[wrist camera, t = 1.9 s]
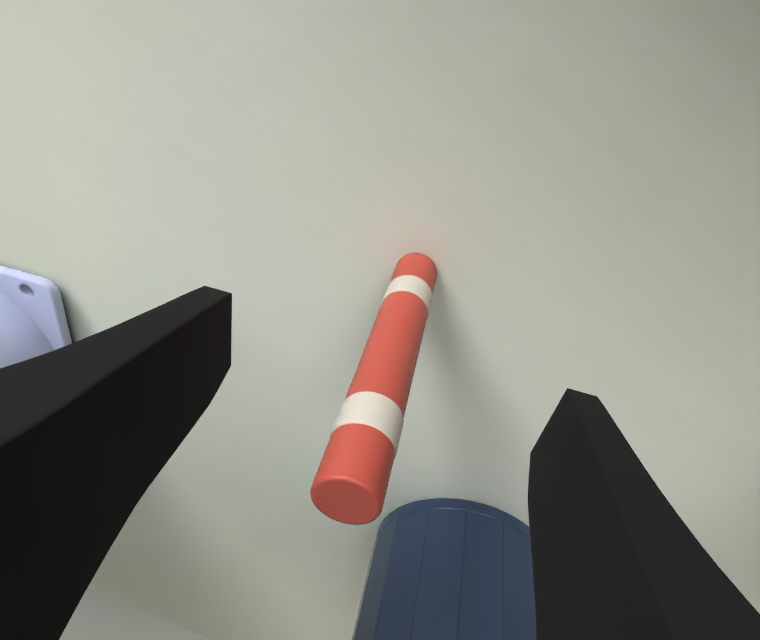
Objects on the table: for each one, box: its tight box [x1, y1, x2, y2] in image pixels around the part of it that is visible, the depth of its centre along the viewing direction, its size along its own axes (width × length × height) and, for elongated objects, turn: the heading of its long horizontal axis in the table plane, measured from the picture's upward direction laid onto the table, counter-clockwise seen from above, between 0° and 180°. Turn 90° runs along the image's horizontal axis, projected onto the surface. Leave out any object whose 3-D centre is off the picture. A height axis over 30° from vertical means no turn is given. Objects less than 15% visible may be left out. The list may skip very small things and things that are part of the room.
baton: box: [311, 253, 437, 525], centre depth 11 cm, size 1×1×8 cm
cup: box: [352, 499, 536, 640], centre depth 19 cm, size 7×7×6 cm
